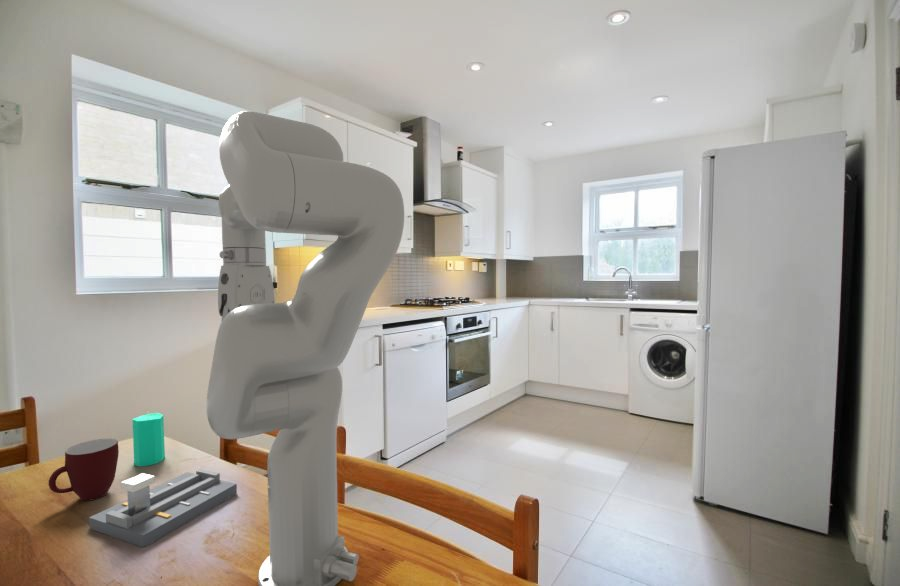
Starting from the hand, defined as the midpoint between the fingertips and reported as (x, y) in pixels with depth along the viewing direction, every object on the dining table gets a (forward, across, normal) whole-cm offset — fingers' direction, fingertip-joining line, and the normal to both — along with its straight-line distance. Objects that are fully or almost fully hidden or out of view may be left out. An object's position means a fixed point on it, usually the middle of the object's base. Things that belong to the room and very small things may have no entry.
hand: (248, 352), depth 83 cm
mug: (+28, -12, +30) cm, 43 cm away
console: (+28, -9, +11) cm, 32 cm away
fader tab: (+26, -14, +11) cm, 32 cm away
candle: (+28, +4, +36) cm, 46 cm away
